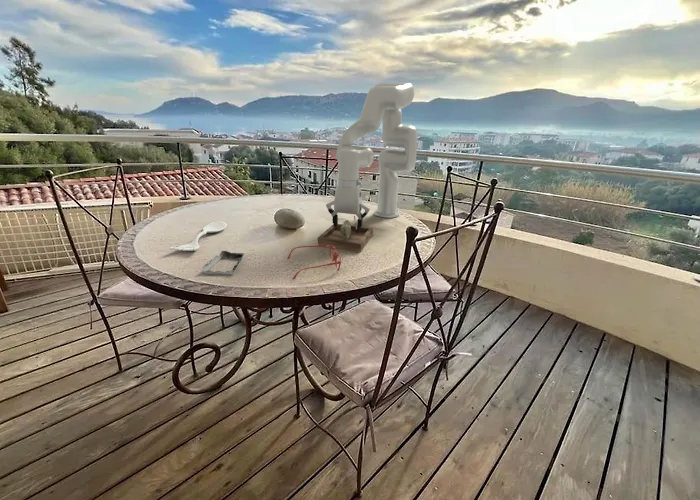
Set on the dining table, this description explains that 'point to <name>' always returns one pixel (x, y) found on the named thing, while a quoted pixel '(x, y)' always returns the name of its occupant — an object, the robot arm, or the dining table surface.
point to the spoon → (208, 228)
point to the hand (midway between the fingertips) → (347, 226)
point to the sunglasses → (325, 264)
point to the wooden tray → (353, 244)
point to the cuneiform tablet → (346, 229)
